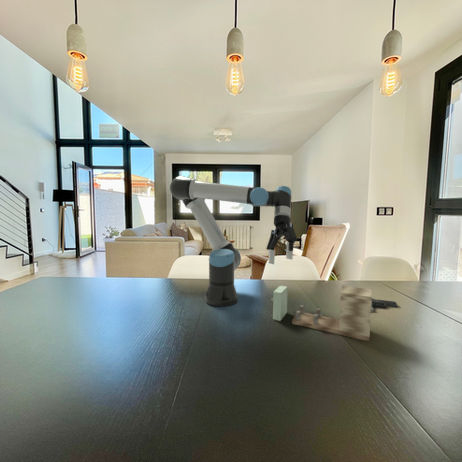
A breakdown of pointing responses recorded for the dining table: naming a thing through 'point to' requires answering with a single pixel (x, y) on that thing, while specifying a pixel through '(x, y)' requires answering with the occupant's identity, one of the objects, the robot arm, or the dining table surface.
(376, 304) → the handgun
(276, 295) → the pale green block
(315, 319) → the wooden rack
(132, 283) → the dining table surface
